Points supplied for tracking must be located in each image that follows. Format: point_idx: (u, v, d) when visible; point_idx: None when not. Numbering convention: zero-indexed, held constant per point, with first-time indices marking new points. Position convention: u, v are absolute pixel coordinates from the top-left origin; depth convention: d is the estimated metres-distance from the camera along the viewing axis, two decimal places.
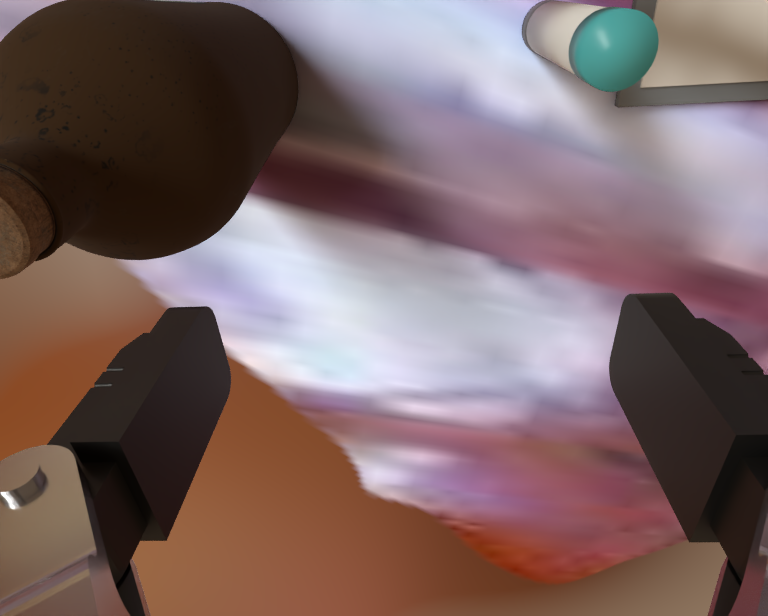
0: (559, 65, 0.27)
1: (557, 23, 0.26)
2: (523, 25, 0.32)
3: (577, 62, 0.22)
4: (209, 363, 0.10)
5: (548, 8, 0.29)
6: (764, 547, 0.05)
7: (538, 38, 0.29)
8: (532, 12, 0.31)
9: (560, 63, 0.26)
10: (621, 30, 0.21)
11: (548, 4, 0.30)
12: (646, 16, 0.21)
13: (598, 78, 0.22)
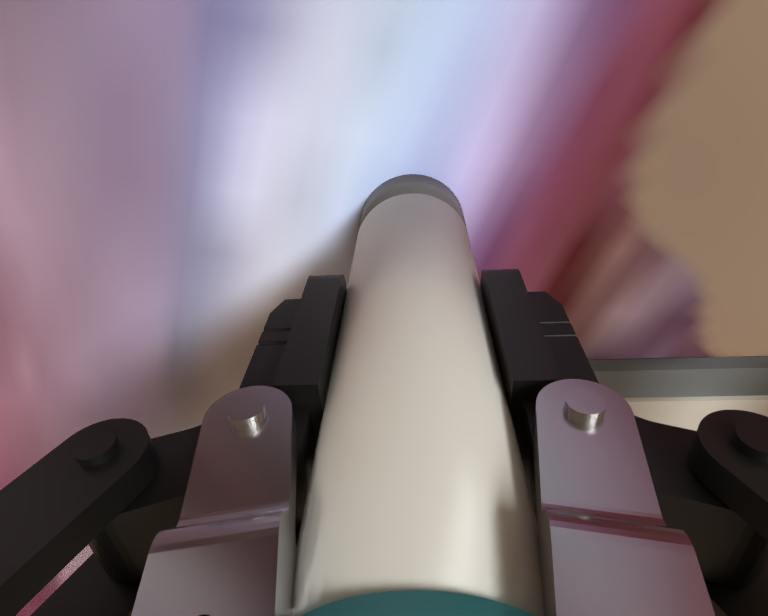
0: (337, 375, 0.08)
1: (465, 358, 0.08)
2: (417, 178, 0.14)
3: None
4: None
5: (468, 256, 0.11)
6: (545, 499, 0.05)
7: (404, 255, 0.10)
8: (446, 199, 0.13)
9: (344, 412, 0.07)
10: None
11: (469, 243, 0.12)
12: None
13: None
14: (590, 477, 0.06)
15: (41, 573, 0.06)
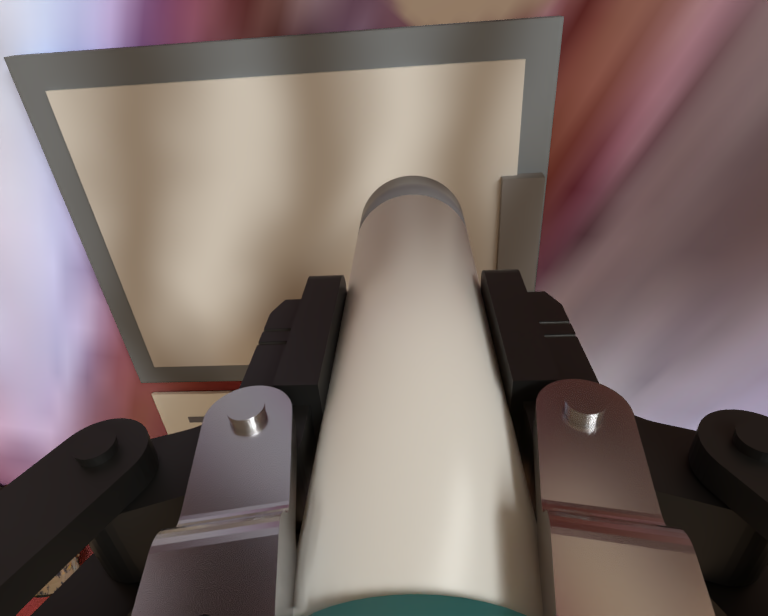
0: (337, 377, 0.08)
1: (466, 360, 0.08)
2: (418, 179, 0.14)
3: None
4: None
5: (468, 258, 0.11)
6: (544, 500, 0.05)
7: (404, 257, 0.10)
8: (447, 201, 0.13)
9: (344, 414, 0.07)
10: None
11: (469, 245, 0.12)
12: None
13: None
14: (590, 477, 0.06)
15: (41, 573, 0.06)
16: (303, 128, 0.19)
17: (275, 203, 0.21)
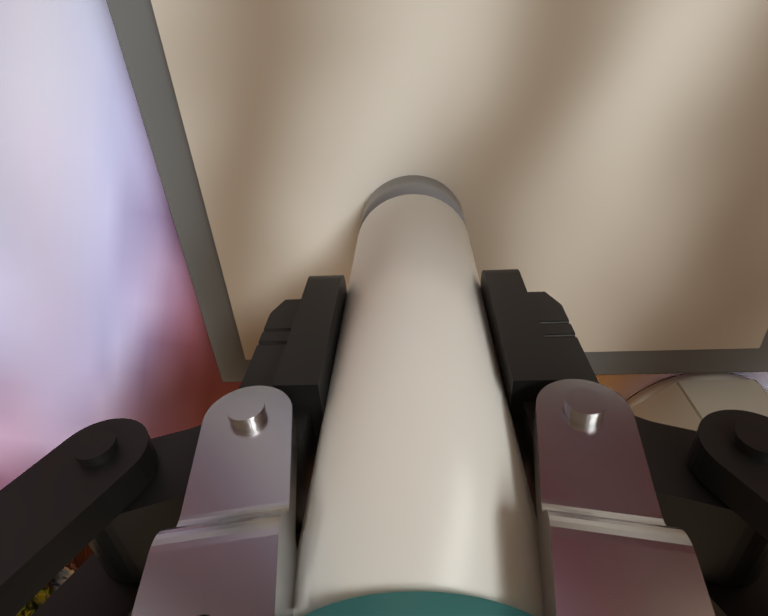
0: (338, 376, 0.08)
1: (466, 359, 0.08)
2: (418, 179, 0.14)
3: None
4: None
5: (468, 257, 0.11)
6: (544, 499, 0.05)
7: (405, 256, 0.10)
8: (447, 200, 0.13)
9: (345, 413, 0.07)
10: None
11: (469, 244, 0.12)
12: None
13: None
14: (590, 477, 0.06)
15: (41, 573, 0.06)
16: None
17: (474, 98, 0.13)
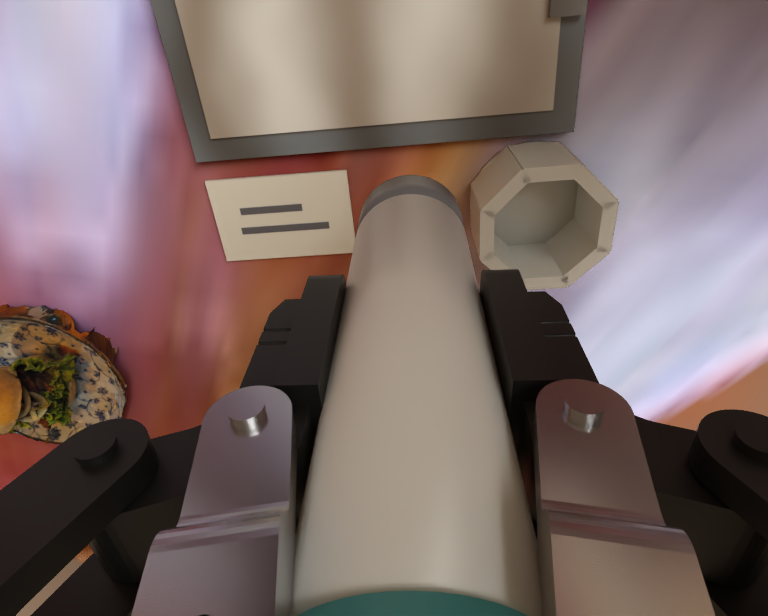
0: (335, 376, 0.08)
1: (462, 359, 0.08)
2: (416, 179, 0.14)
3: None
4: None
5: (466, 257, 0.11)
6: (544, 499, 0.05)
7: (402, 256, 0.10)
8: (445, 200, 0.13)
9: (341, 413, 0.07)
10: None
11: (467, 244, 0.12)
12: None
13: None
14: (590, 477, 0.06)
15: (41, 573, 0.06)
16: None
17: None
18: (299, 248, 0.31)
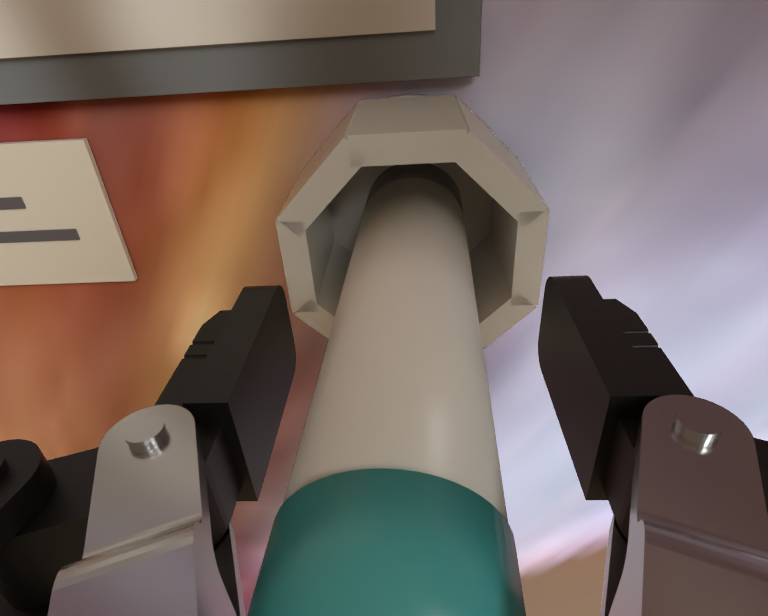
0: (336, 327, 0.09)
1: (445, 312, 0.09)
2: (419, 164, 0.15)
3: (332, 608, 0.05)
4: (282, 339, 0.10)
5: (459, 233, 0.12)
6: (640, 510, 0.05)
7: (400, 230, 0.11)
8: (444, 184, 0.14)
9: (339, 352, 0.08)
10: None
11: (462, 223, 0.14)
12: None
13: None
14: (694, 497, 0.05)
15: None
16: None
17: None
18: (39, 271, 0.18)
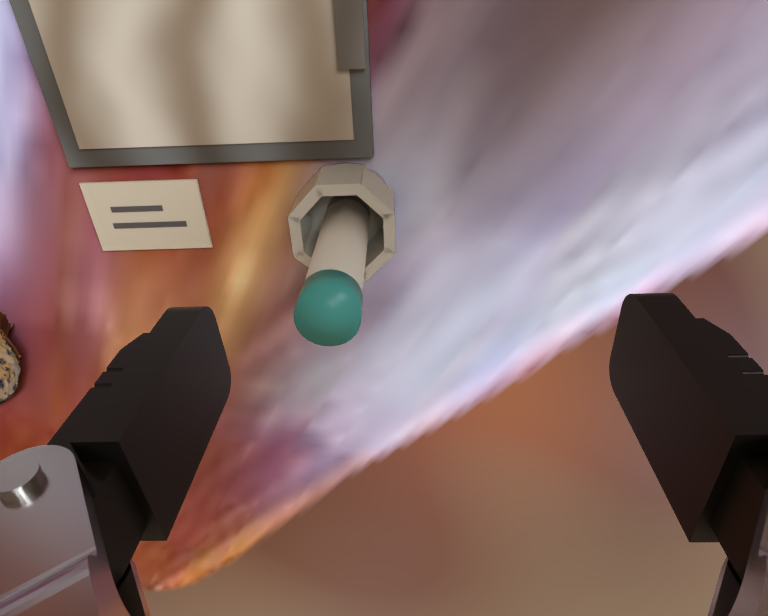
0: (315, 249, 0.28)
1: (350, 243, 0.28)
2: None
3: (317, 285, 0.23)
4: (210, 363, 0.10)
5: (363, 221, 0.31)
6: (764, 547, 0.05)
7: (338, 219, 0.30)
8: (360, 201, 0.34)
9: (316, 253, 0.27)
10: (344, 317, 0.24)
11: (366, 218, 0.33)
12: (355, 333, 0.24)
13: (304, 306, 0.23)
14: None
15: None
16: None
17: None
18: (163, 242, 0.37)
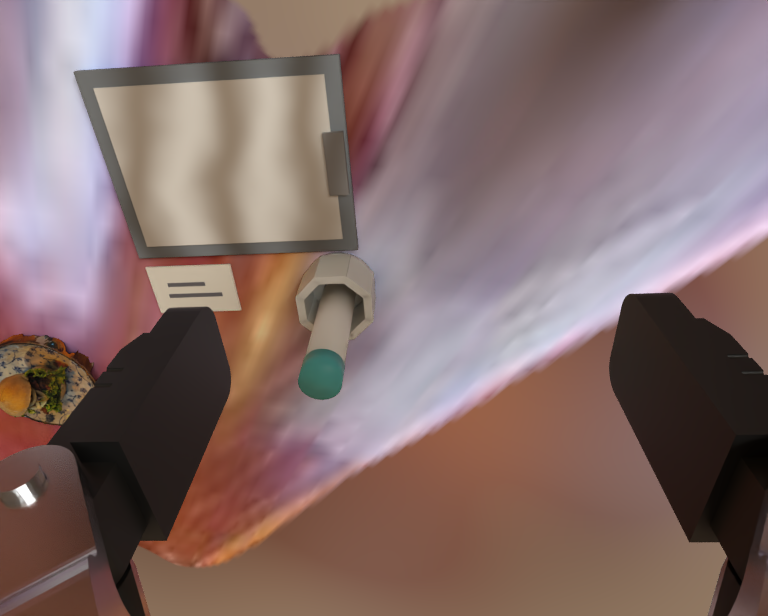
0: (314, 327, 0.41)
1: (337, 323, 0.40)
2: None
3: (313, 362, 0.36)
4: (209, 363, 0.10)
5: (349, 300, 0.44)
6: (764, 547, 0.05)
7: (330, 301, 0.43)
8: None
9: (314, 332, 0.39)
10: (330, 382, 0.36)
11: (352, 295, 0.45)
12: (338, 391, 0.37)
13: (304, 376, 0.36)
14: None
15: None
16: (221, 107, 0.39)
17: (210, 147, 0.41)
18: (205, 306, 0.50)
